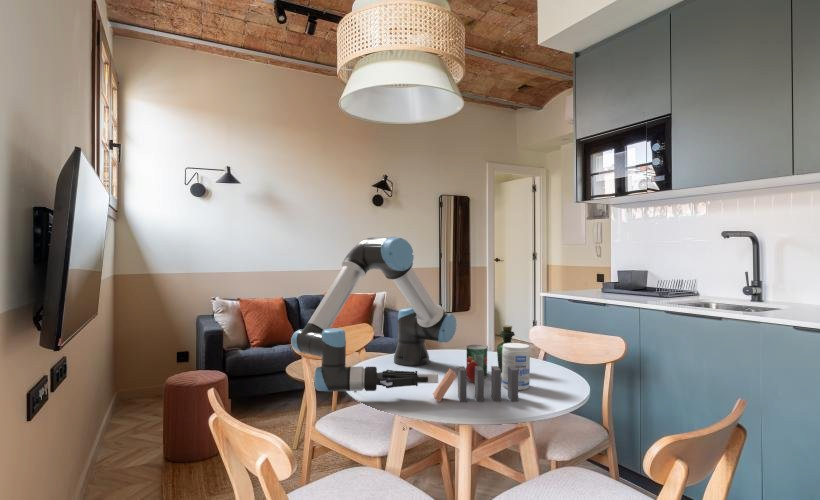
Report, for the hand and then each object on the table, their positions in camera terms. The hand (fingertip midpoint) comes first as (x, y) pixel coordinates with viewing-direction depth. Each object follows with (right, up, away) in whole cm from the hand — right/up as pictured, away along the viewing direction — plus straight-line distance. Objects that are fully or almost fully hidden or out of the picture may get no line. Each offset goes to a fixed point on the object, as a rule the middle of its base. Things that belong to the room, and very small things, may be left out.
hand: (437, 378), depth 150 cm
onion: (+14, -7, +20) cm, 25 cm away
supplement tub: (+28, -7, +14) cm, 33 cm away
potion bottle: (+29, -7, +35) cm, 46 cm away
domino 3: (+19, -7, +1) cm, 20 cm away
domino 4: (+24, -7, +1) cm, 25 cm away
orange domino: (0, -6, 0) cm, 6 cm away
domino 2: (+13, -7, +1) cm, 15 cm away
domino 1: (+8, -7, +1) cm, 10 cm away
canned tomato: (+17, -7, +29) cm, 34 cm away
